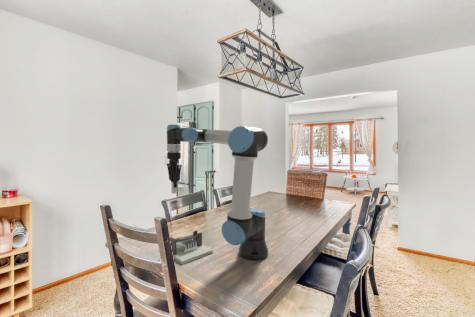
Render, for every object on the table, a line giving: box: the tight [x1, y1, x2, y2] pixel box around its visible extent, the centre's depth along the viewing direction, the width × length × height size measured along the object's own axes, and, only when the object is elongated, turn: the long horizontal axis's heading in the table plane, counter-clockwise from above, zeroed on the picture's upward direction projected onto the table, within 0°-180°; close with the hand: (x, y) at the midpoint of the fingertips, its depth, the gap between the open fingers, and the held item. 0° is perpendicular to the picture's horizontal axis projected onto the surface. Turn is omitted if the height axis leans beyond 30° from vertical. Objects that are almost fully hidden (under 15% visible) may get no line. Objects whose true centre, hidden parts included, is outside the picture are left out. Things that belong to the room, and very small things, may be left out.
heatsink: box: [176, 239, 198, 253], centre depth 126 cm, size 9×8×4 cm
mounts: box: [169, 230, 203, 255], centre depth 126 cm, size 5×16×7 cm, turn 134°
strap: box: [175, 233, 198, 242], centre depth 126 cm, size 3×14×2 cm, turn 134°
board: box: [173, 239, 214, 265], centre depth 126 cm, size 22×18×2 cm
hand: (174, 192), depth 137 cm, fingers closed
